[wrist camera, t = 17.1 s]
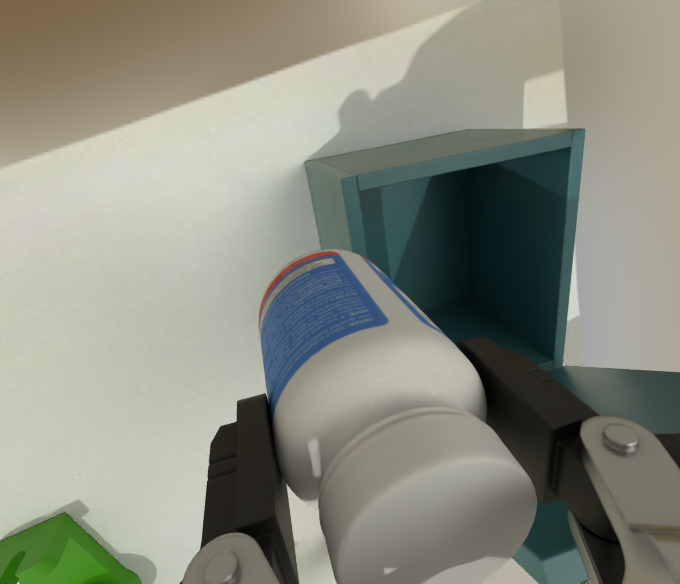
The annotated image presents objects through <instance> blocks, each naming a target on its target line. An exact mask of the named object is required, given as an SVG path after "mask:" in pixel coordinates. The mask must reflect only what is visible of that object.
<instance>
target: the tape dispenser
mask: <svg viewBox="0 0 680 584" xmlns="http://www.w3.org/2000/svg"><path fill="white" fill-rule="evenodd" d="M17 582H19V583H20V584H141V581H140V579H139V577H138V576H137V575H136V574H135V573H133V572H131V571H129V570H127V569H125V568H124V567H123V566H122V565H121V564H120V563H119V562H118V561H117V560H116V559H114V558H113V557H112V556H111V555H110V554H109V553H108V552H107V551H106V550H105V549H104V548H103V547H102V546H100V545H99V544H98V543H97V542H96V541H95V540H94V539H93V538H92V537H91V536H90V535H89V534H88V533H87V532H85V531H84V530H83V529H82V528H81V527H80V526H79V525H78V524H77V523H76V522H75V521H74V520H73V519H71V518H70V517H69V516H68V515H67V514H66V513H62V514H60V515H58V516H56V517H54V518H51V519H49V520H47V521H45V522H42V523H40V524H38V525H36V526H34V527H31V528H29V529H27V530H25V531H22V532H20V533H18V534H16V535H14V536H11V537H9V538H7V539H5V540H2V541H0V584H17Z"/></svg>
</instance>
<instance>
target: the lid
mask: <svg viewBox="0 0 680 584" xmlns="http://www.w3.org/2000/svg"><path fill="white" fill-rule="evenodd" d="M547 373H548V374H549V375H550V376H551V377H552V379H555V380H557V381H558V382H559V383H560V384H561V385H563V386H564V387H565V388H566V389H568V390H569V391H570V392H571V393H573V394H574V395H575V396H576V397H578V398H579V399H580V400H581V401H583V402H584V403H585V404H586V405H588V406H589V407H590V408H591V409H593V410H594V411H595V412H596V413H597V414H599V415H600V416H603V415H607V416H616V417H621V418H624V419H627V420H630V421H633V422H635V423H637V424H639V425H641V426H643V427H644V428H646V429H647V430H649V431H650V432H651V433H652V434H672V433H680V373H679V372H664V371H647V370H629V369H612V368H595V367H578V366H563V367H560V368H557V369H553V370H550V371H547ZM567 512H568V508H567V507H566V505H565V504H564V503H563V502H562V501H561V500H560V499H559V500H556V501H554V502H551V503H548V504H545V505H543V504H542V503H541V502H540V500H539V499H538V498H537V510H536V515H535V519H534V522H533V525H532V527H531V529H530V532H529V534H528V536H527V537H526V539H525V541H524V542H523V544H522V545H521V546H520V548H519V549H518V550H517V551H516V553H515V554H514V555H513V556H512V558H513V559H514V560H515V561H516V562H517V563H518V564H519V565H520V566H521V567H522V568H523V569H524V570H525V571H526V572H527V573H528V574H529V575H530V576H532V577H533V578H534V579H535V580H536V581H537V582H538V583H539V584H578V583H581V582H583V581H586V580H588V579H589V578H588V576H587V573H586V570H585V568H584V565H583V562H582V560H581V557H580V554H579V552H578V549H577V546H576V544H575V541H574V538H573V535H572V533H571V530H570V527H569V525H568V521H567Z"/></svg>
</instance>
